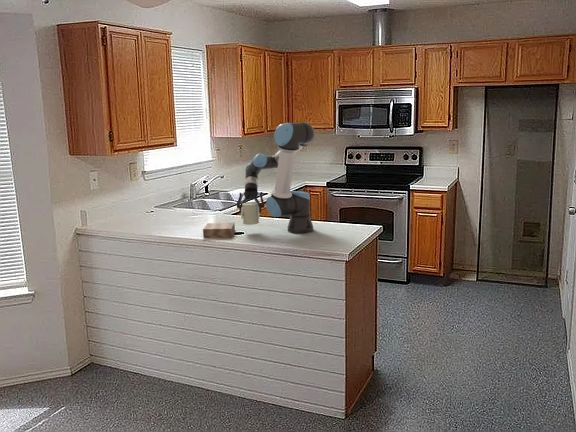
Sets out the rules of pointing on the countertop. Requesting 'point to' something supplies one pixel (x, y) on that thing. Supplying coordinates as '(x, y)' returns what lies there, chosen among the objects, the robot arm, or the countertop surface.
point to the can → (250, 213)
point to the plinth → (218, 230)
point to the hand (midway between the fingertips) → (250, 217)
